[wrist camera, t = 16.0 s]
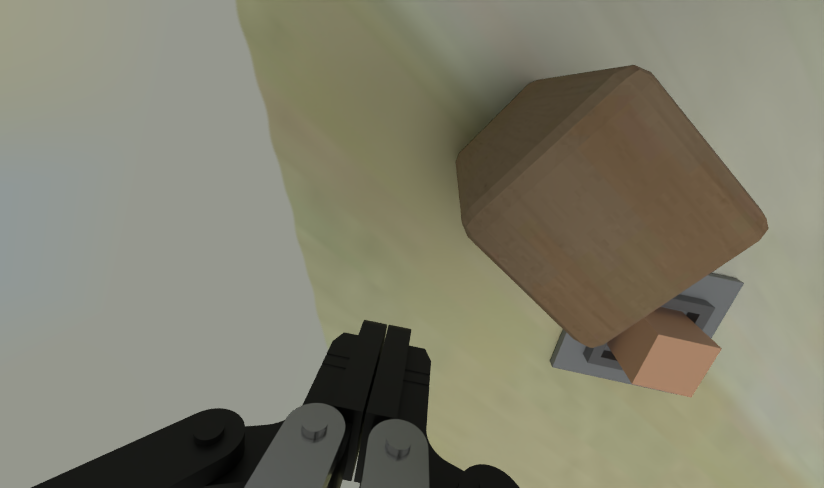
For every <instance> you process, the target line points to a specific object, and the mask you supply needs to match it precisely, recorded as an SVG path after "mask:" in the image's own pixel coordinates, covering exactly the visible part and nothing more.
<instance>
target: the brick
mask: <svg viewBox="0 0 824 488" xmlns="http://www.w3.org/2000/svg"><path fill="white" fill-rule="evenodd" d="M607 345H608V347H609V348H610V350H611V351H612V353H613V355H614V356H615V358H616V359H617V361H618V363H619V364H620V366H621V367H622V369H623V371H624V372H625V374H626V375H627V377H628V378H629V380H630V382H631V383H632V384H635V385H639V386H643V387H648V388H652V389H657V390H661V391H665V392H670V393H674V394H679V395H683V396H687V397H692V395H693V394H694V392H695V391H696V389H697V387H698V386H699V384H700V383H701V381H702V379H703V378H704V376H705V375H706V373H707V371H708V370H709V368H710V367H711V365H712V363H713V362H714V360H715V359H716V357H717V355H718V354H719V352H720V351H721V349H722V348H720V347H719V346H718V345H717V344H716V343H715V342H714V341H713V340H712V339H711V338H710V337H709V336H708V335H707V334H705V333H704V332H703V331H702V330H701V329H700V328H699V327H698V326H697V325H696V324H695V323H694V322H693V321H692V320H691V319H689V318H688V317H687V316H686V315H685V314H684V313H683V312H681V311H677V310H672V309H668V308H663V307H659V308H658V309H656V310H655V311H653V312H652V313H650V314H649V315H647V316H646V317H644V318H643V319H641V320H640V321H638V322H637V323H635V324H634V325H632V326H631V327H629V328H628V329H626V330H625V331H623V332H622V333H620V334H619V335H617V336H616V337H614V338H613V339H611V340H610V341H608V343H607Z"/></svg>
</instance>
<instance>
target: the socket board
mask: <svg viewBox="0 0 824 488" xmlns="http://www.w3.org/2000/svg"><path fill="white" fill-rule="evenodd" d="M743 284H744V283H743V282H741V281H740V280H738V279H736V278H732V277H727V276H723V275H718V274H713V273H710V274H709V275H707V276H706V277H704V278H703V279H701V280H700V281H698V282H697V283H695V284H694V285H692V286H691V287H689V288H688V289H686V290H685V291H683V292H682V293H680V294H679V295H677V296H676V297H674V298H673V299H671V300H670V301H668V302H667V303H665V304H664V305H662V306H661V307H663V308H668V309H672V310H677V311H681V312H683V313H684V314H685V315H686V316H687V317H688V318H689V319H691V320H692V321H693V322H694V323H695V324H696V325H697V326H698V327H699V328H700V329H701V330H702V331H703V332H704V333H705V334H707V335H708V336H709V337H710V338H712V336H713V335H714V333H715V331H716V330H717V328H718V326H719V324H720V323H721V321H722V319H723V318H724V316H725V314H726V313H727V311H728V309H729V308H730V306H731V304H732V303H733V301H734V299H735V297H736V296H737V294H738V292H739V291H740V289H741V287H742V286H743ZM607 343H608V342H607ZM607 343H605V344H604V345H601V346H597V347H594V348H590V347H588V346H585V345H583V344H581V343H580V342H578V341H576V340H574V339H573V338H572V337H571V336H570V335H569V334H568V333H567V332H566V331H565V330H564V329H563V331H562V333H561V336H560V338H559V341H558V343H557V345H556V348H555V350H554V353H553V355H552V358H551V360H550V362H551V365H552V367H554V368H559V369H563V370H568V371H573V372H577V373H582V374H586V375H591V376H595V377H600V378H605V379H609V380H614V381H618V382H623V383H627V384H632V383H631V382H630V380H629V378H628V377H627V375H626V374H625V372H624V371H623V369H622V367H621V366H620V364H619V363H618V361H617V359H616V358H615V356H614V355H613V353H612V351H611V350H610V348H609V347H608V345H607ZM632 385H635V384H632ZM637 386H639V385H637ZM641 387H643V386H641ZM646 388H648V387H646ZM650 389H652V388H650ZM655 390H657V389H655ZM659 391H661V390H659ZM664 392H665V391H664ZM669 393H670V392H669ZM673 394H674V393H673Z"/></svg>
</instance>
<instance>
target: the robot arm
mask: <svg viewBox="0 0 824 488" xmlns="http://www.w3.org/2000/svg"><path fill="white" fill-rule="evenodd" d="M386 328H387V324H382V323H378V322H373V321H368V320H364V322H363V324H362V327H361V330H360V332H359V335H354V334H349V333H343V334H341V335H340V336H339V337H338V338H336V339H335V340H334V341H333V342H332V344H331V346H330V348H329V350H328V352H327V355H326V356H325V359H324V361H323V363H322V366H321V368H320V369H319V371H318V374H317V376H316V378H315V380H314V382H313V384H312V386H311V388H310V391H309V393H308V395H307V397H306V399H305V401H304V403H303V405H302V406H301V407H298V408H296V409H295V410H293V411H292V412H291V413H290V414H289V415H288V417H287V418H286V419H285V420H284V421H281V422H279V423H275V424H270V425H261V426H260V425H259V426H246V427H245V425H244V421H243V419H242V418H241V417H240V416H239V415H238V414H237V413H235V412H233V411H231V410H227V409H220V408H219V409H209V410H205V411H201V412H199V413H196V414H194V415H192V416H190V417H187V418H185V419H183V420H181V421H179V422H176V423H174V424H172V425H170V426H167V427H165V428H163V429H161V430H158V431H156V432H154V433H152V434H149V435H147V436H145V437H143V438H141V439H138V440H136V441H134V442H132V443H130V444H127V445H125V446H123V447H121V448H118V449H116V450H114V451H112V452H110V453H107V454H105V455H103V456H100V457H98V458H96V459H94V460H92V461H89V462H87V463H85V464H83V465H80V466H78V467H76V468H74V469H72V470H69V471H67V472H65V473H63V474H60V475H58V476H56V477H54V478H52V479H49V480H47V481H45V482H43V483H40V484H38V485H36V486H34V487H32V488H340V486H341V483H342V479H343V480H348V481H351V480H352V476H353V472H354V469H355V465H356V461H357V457H358V461H357V467H356V473H355V479H354V482H358V483H360V487H359V488H519V486H518V485H517V484H516V483H515V482H514V481H513V480H512V479H511V477H510V476H508V475H507V474H506V473H505V472H503V471H501V470H500V469H498V468H496V467H493V466H490V465H484V464H479V465H474V466H471V467H469V468H468V469H466V470H465V471H463V470H461V469H459V468H457V467H456V466H454V465H452V464H450V463H448V462H447V461H445V460H444V459H442V458H441V457H440V456H439V455H438V454H437V453H436V452H435V451H434V449H433V448H432V447H431V445H430V443H429V441H428V438H427V433H426V425H427V411H428V396H429V382H430V367H431V361H430V358H429V356H428V354H427V352H426V350H425V349H423V348H418V347H413V346H409V341H410V335H411V329H408V328H403V327H398V326H393V325H389V326H388V330H387V334H386ZM385 334H386V337H385ZM384 340H385V341H384ZM359 449H360V450H359ZM358 453H359V455H358Z"/></svg>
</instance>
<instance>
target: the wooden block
mask: <svg viewBox="0 0 824 488" xmlns="http://www.w3.org/2000/svg"><path fill="white" fill-rule="evenodd" d="M456 169H457V178H458V188H459V198H460V208H461V218H462V224H463V226H464V229H465V231H466V234H467V236H468V238H470V239H471V240H472V241H473V242H474V243H475V244H476V245H477V246H478V247H479V248H480V249H481V250H482V251H483V252H484V253H485V254H486V255H487V256H488V257H489V258H490V259H491V260H492V261H493V262H494V263H495V264H496V265H497V266H498V267H500V268H501V269H502V270H503V271H504V272H505V273H506V274H507V275H508V276H509V277H510V278H511V279H512V280H513V281H514V282H515V283H516V284H517V285H518V286H519V287H520V288H521V289H522V290H523V291H524V292H525V293H526V294H527V295H528V296H529V297H531V298H532V299H533V300H534V301H535V302H536V303H537V304H538V305H539V306H540V307H541V308H542V309H543V310H544V311H545V312H546V313H547V314H548V315H549V316H550V317H551V318H552V319H553V320H554V321H555V322H556V323H557V324H558V325H559V326H561V327H562V328H563V329H564V330H565V331H566V332H567V333H568V334H569V335H570V336H571V337H572V338H573V339H574V340H576V341H578V342H580V343H581V344H583V345H585V346H588V347H590V348H594V347H597V346H601V345H604V344H605V343H607V342H608V341H610V340H611V339H613V338H614V337H616V336H617V335H619V334H620V333H622V332H623V331H625V330H626V329H628V328H629V327H631V326H632V325H634V324H635V323H637V322H638V321H640V320H641V319H643V318H644V317H646V316H647V315H649V314H650V313H652V312H653V311H655V310H656V309H658V308H659V307H661V306H662V305H664V304H665V303H667V302H668V301H670V300H671V299H673V298H674V297H676V296H677V295H679V294H680V293H682V292H683V291H685V290H686V289H688V288H689V287H691V286H692V285H694V284H695V283H697V282H698V281H700V280H701V279H703V278H704V277H706V276H707V275H709V274H710V273H712V272H713V271H714V270H716V269H717V268H719V267H720V266H722V265H723V264H725V263H726V262H728V261H729V260H731V259H732V258H734V257H735V256H737V255H738V254H740V253H741V252H743V251H744V250H746V249H747V248H749V247H750V246H752V245H753V244H755V243H756V242H758V241H759V240H760V239H761V238H762V236H763V235H764V234H765V233H766V231H767V230H768V224H767V219H766V217H765V215H764V214H763V212H762V211H761V209H760V208H759V206H758V205H757V204H756V203H755V201H754V200H753V199H752V198H751V196H750V195H749V194H748V193H747V191H746V190H745V189H744V188H743V186H742V185H741V184H740V183H739V181H738V180H737V179H736V178H735V176H734V175H733V174H732V173H731V171H730V170H729V169H728V168H727V166H726V165H725V164H724V163H723V161H722V160H721V159H720V158H719V156H718V155H717V154H716V153H715V151H714V150H713V149H712V148H711V146H710V145H709V144H708V143H707V141H706V140H705V139H704V138H703V136H702V135H701V134H700V133H699V131H698V130H697V129H696V128H695V126H694V125H693V124H692V123H691V121H690V120H689V119H688V118H687V116H686V115H685V114H684V113H683V111H682V110H681V109H680V108H679V106H678V105H677V104H676V103H675V101H674V100H673V99H672V98H671V96H670V95H669V94H668V93H667V91H666V90H665V89H664V88H663V86H662V85H661V84H660V83H659V81H658V80H657V79H656V78H655V76H654V75H653V74H652V73H651V72H649V71H647V70H645V69H642V68H640V67H638V66H635V65H631V66H624V67H618V68H611V69H605V70H598V71H592V72H585V73H579V74H573V75H566V76H560V77H553V78H547V79H540V80H536V81H534V82H532V83H530V84H528V85H527V86H526V87H525V88H524V89H523V90H522V91H521V92H520V93H519V94H518V95H517V96H516V97H515V98H514V99H513V100H512V101H511V102H510V103H509V104H508V105H507V106H506V107H505V108H504V109H503V110H502V111H501V112H500V113H499V114H498V115H497V116H496V117H495V118H494V119H493V120H492V121H491V122H490V123H489V124H488V125H487V126H486V127H485V128H484V129H483V130H482V131H481V132H480V133H479V134H478V135H477V136H476V137H475V138H474V139H473V140H472V141H471V142H470V143H469V144H468V145H467V146H466V147H465V148H464V149H463V150H462V151H461V152H460V153H459V155H458V157H457V160H456Z"/></svg>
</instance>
